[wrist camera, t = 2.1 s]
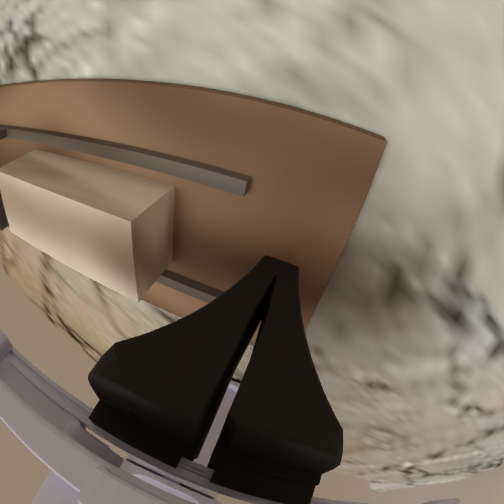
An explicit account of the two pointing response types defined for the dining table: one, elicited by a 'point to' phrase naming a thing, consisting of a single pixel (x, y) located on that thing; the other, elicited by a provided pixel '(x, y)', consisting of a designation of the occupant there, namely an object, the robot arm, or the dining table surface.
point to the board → (210, 174)
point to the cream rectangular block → (92, 218)
